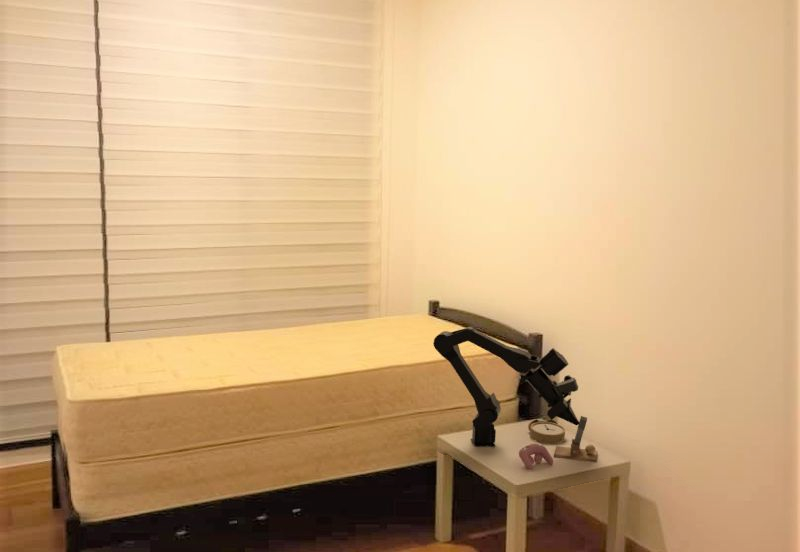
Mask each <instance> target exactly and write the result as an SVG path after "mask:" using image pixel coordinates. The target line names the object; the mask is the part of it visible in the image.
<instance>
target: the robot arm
mask: <svg viewBox="0 0 800 552" xmlns="http://www.w3.org/2000/svg"><path fill="white" fill-rule="evenodd" d="M465 342H470V343H471V344H473V345H475V346H477V347H479V348H481V349H482V350H485V351H487V352H488V353H491V354H493V355H494V356H496V357H498V358H499V359H501V360H503V361H504V363H505V364H507V365H508V366H509V367H510V368H512V369H513V370H514V371H516V372H517V373H521V374H520V375H519V376H520V383H519V384H520V385H522V384H524V383H525V382H526V381H527V382H528V383H529V385H530V386H531V387H532V388H533V389H534V391H535V392H536V393H538V394H537V397H539V398H542V400H544V402H546V404H547V405H546V406H547V407H548V409H547V411H546V413H547V417H548V418H549V420H550V419H551V420H555V418H556V417H558V418H560V419H562V420H564V421H566V422H568V423H570V424H573V425H575V426H578V424H579V421H580V420H579V419H578V417H577V416H576V414H575V412H574V410H573V407H572V405H571V404H572V403H571V402H572V398H569V399H566V398H567V397H569V396H571V395H572V392H573V393H574V392H577V391H579V384H578V382H577V379H576V378H575V377H572V376H570V375H569V374H568V375H565V376H564V378H563V380H562V381H560V382H557V381H556V380H552V379H551V378H550V377H551V376H553V377H555V376H556V375H557V374H559V373H560V372H561V371H563V370H564V369H565V368H567V367H568V366H569V362H568V361H567V359H566V358H565V357H564V355H563V354H562V353H560V352H559V351H558V350H556V349H555V348H554V347H552V348H551V349H550V350H549V351H548V352H547V353H546V354H545V355H544V356H542V357H541V356H536V355H532V354H531V353H530V352H529V351H527V350H523V349H521V348H518V347H513V346H512V347H511V346H509V345H506V344H504V343H503V342H500V341H498V340H497V339H495V338H492V337H491V336H489V335H487V334H485V333H483V332H481V331H479V330H478V329H476V328H474V327H473V326H467V327H465V328H462V329H457V330H454V331H448V330H444V331H442V332H440V333H439V334H437V335H436V336H435V337H434V339H433V348H434V349H435V351H437V352H438V353H439V355H440V356H441V357H443V358H444V359H445V360H446V361H448V363H450V365H451V367H452V369H454V371H455V372H456V375H457V376H458V377H459V379H460V380H461V382H462V383H463V385H464V387H465V388H466V389H467V391H468V392H469V394H470V396H471V397H472V398H473V400H474V405H475V408H476V411H477V414H476V415H475V417H474V418H473V420H472V438H470V441H471V443H472V444H473V446H474V447H495V446H496V444H495V443H496V435H497V430H496V428H495V425H494V423H495V422H496V421H497V420H498V418H499V416H500V414H501V411H502V408H501V402H500V400H498V399H497V396H496V395H495V392H492V393H491V394H489V393H488V392H487V391H486V390H485V389H484V387H483V386H482V384H481V382H480V381H479V380H478V378H477V376H476V375H475V374H474V372H473V371H472V368H471V367H470V365H469V364H468V363H467V361H466V360H465V358H464V356H463V355H462V354H461V350H460V347H459V345H460V344H462V343H465ZM525 372H526V373H525Z"/></svg>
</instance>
